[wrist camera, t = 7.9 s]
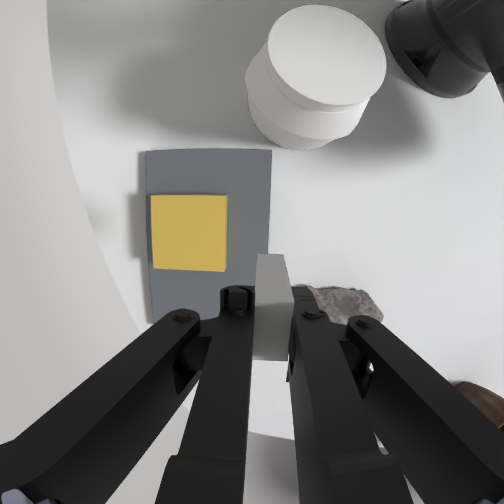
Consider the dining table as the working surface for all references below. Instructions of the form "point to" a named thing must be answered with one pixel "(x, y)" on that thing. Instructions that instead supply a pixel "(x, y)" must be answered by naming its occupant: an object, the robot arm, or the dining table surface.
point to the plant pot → (484, 402)
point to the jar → (314, 76)
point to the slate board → (238, 221)
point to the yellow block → (189, 231)
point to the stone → (345, 304)
